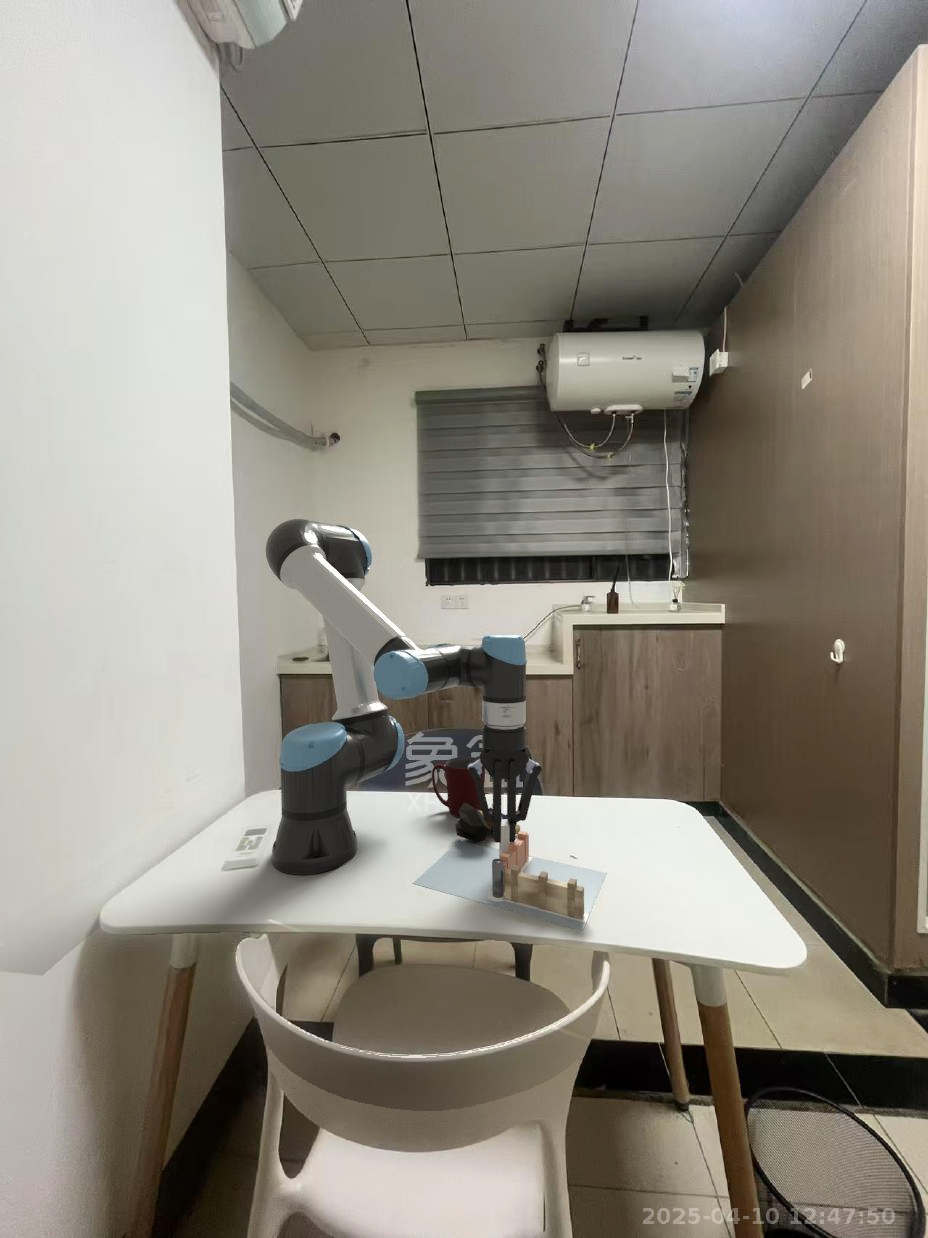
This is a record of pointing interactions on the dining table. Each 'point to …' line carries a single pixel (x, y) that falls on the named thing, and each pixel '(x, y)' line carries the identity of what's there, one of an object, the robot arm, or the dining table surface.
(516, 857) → the swing panel
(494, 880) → the hinge post
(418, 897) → the dining table surface
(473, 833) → the toy
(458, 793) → the mug
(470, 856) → the card
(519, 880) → the fixed panel
